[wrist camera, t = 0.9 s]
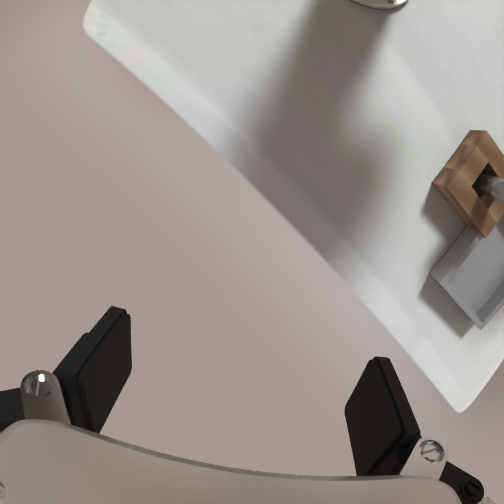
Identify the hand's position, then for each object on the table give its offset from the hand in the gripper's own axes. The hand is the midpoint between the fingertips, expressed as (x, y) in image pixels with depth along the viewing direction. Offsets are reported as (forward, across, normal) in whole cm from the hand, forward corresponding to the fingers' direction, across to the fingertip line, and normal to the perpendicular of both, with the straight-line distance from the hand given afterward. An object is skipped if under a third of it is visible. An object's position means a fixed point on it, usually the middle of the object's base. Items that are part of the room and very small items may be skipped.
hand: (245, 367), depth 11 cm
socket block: (+29, -27, -10) cm, 41 cm away
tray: (+29, -34, 0) cm, 45 cm away
